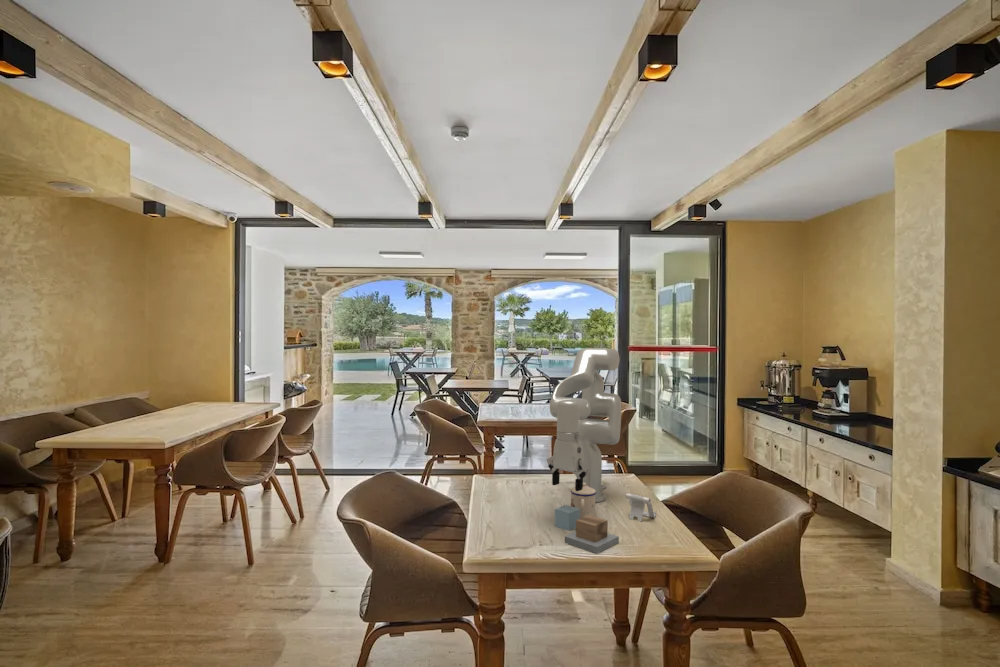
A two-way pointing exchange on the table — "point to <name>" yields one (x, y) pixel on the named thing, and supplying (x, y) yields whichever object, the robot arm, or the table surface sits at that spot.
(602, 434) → the robot arm
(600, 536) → the walnut block
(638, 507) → the portable electronic device stand
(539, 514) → the table surface
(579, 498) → the teacup with lid
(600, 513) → the table surface
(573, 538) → the slate base
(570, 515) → the cube
